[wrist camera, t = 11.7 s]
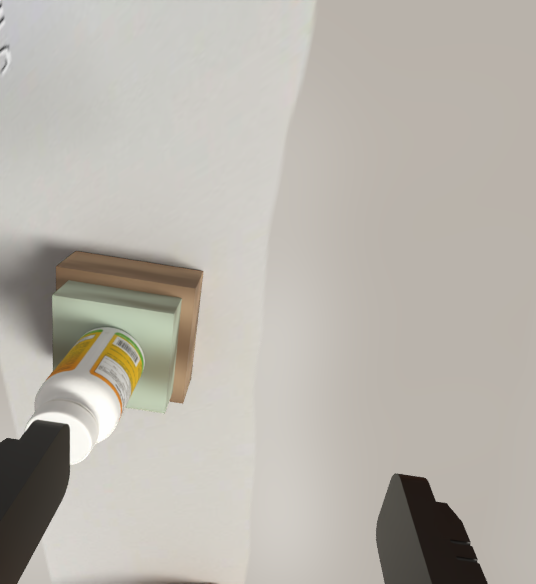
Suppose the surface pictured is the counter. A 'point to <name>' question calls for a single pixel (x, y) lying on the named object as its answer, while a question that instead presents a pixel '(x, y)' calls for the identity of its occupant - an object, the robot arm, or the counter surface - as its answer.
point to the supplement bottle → (91, 388)
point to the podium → (132, 317)
